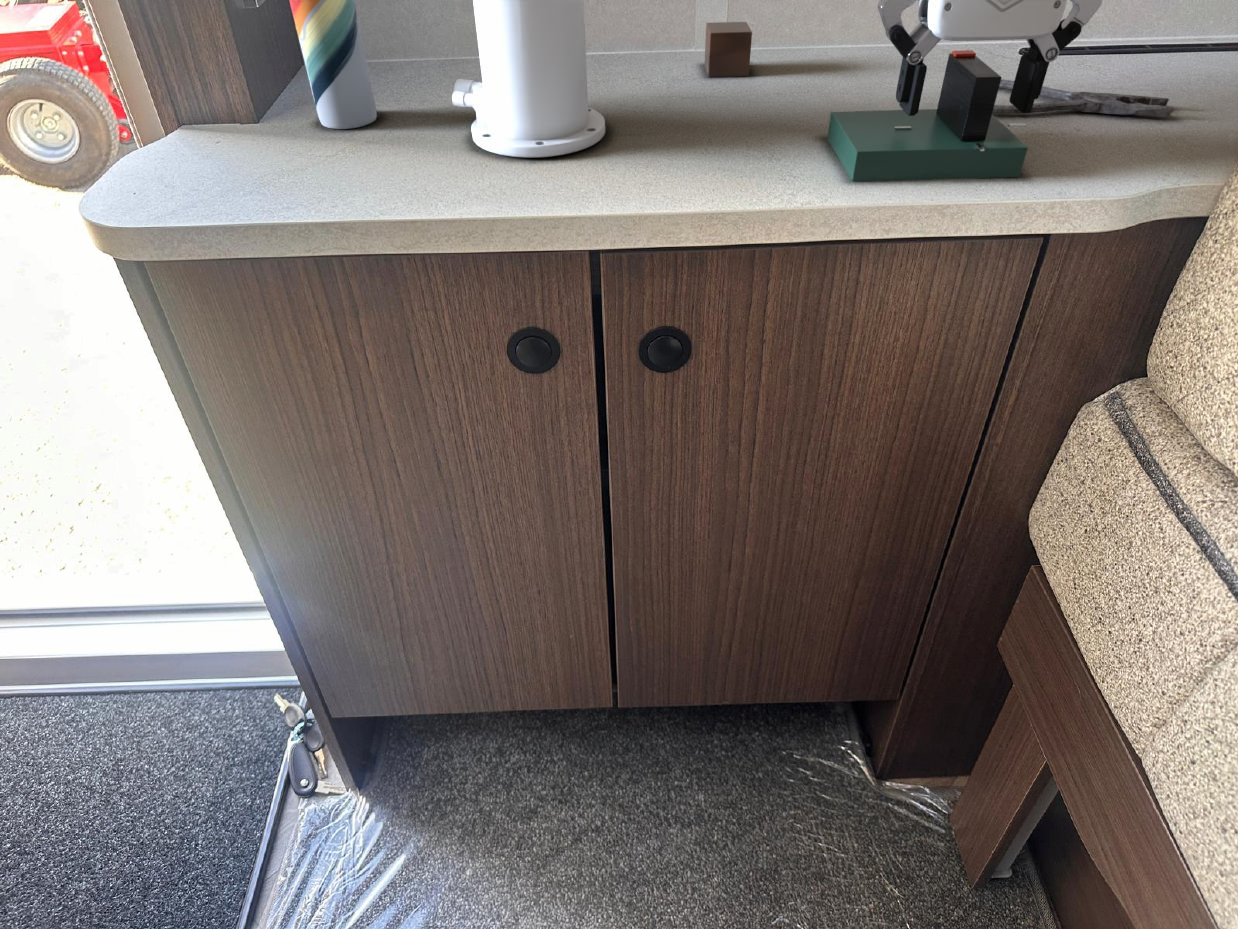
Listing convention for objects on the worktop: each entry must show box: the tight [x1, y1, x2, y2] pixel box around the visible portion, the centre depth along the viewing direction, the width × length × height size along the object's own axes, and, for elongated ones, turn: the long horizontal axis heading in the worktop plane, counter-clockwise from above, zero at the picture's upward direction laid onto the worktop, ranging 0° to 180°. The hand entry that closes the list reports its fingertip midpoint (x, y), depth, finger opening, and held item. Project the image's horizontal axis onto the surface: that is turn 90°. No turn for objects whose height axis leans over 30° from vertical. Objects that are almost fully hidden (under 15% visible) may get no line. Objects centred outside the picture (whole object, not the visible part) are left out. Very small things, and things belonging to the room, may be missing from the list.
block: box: [703, 21, 753, 78], centre depth 93 cm, size 4×4×4 cm
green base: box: [826, 105, 1029, 182], centre depth 72 cm, size 16×11×3 cm
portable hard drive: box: [936, 49, 1002, 141], centre depth 70 cm, size 7×2×5 cm, turn 1°
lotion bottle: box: [289, 0, 378, 130], centre depth 77 cm, size 6×6×20 cm
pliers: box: [992, 78, 1174, 118], centre depth 84 cm, size 10×1×20 cm
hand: (963, 109), depth 71 cm, fingers open, 9 cm apart
